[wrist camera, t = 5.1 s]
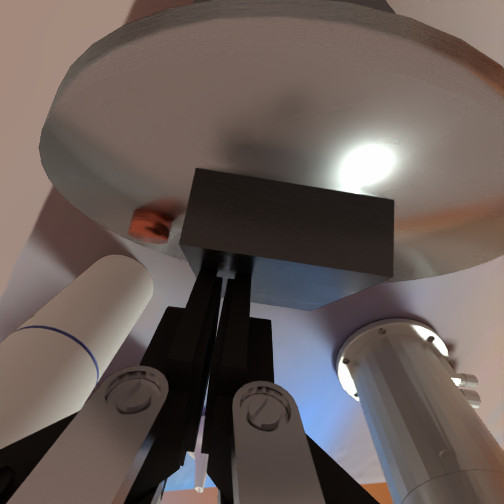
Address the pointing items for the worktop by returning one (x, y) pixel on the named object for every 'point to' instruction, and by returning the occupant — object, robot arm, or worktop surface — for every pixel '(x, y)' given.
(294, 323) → the worktop surface
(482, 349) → the worktop surface
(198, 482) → the garlic bulb
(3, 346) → the cylindrical container
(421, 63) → the round plate
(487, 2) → the worktop surface
